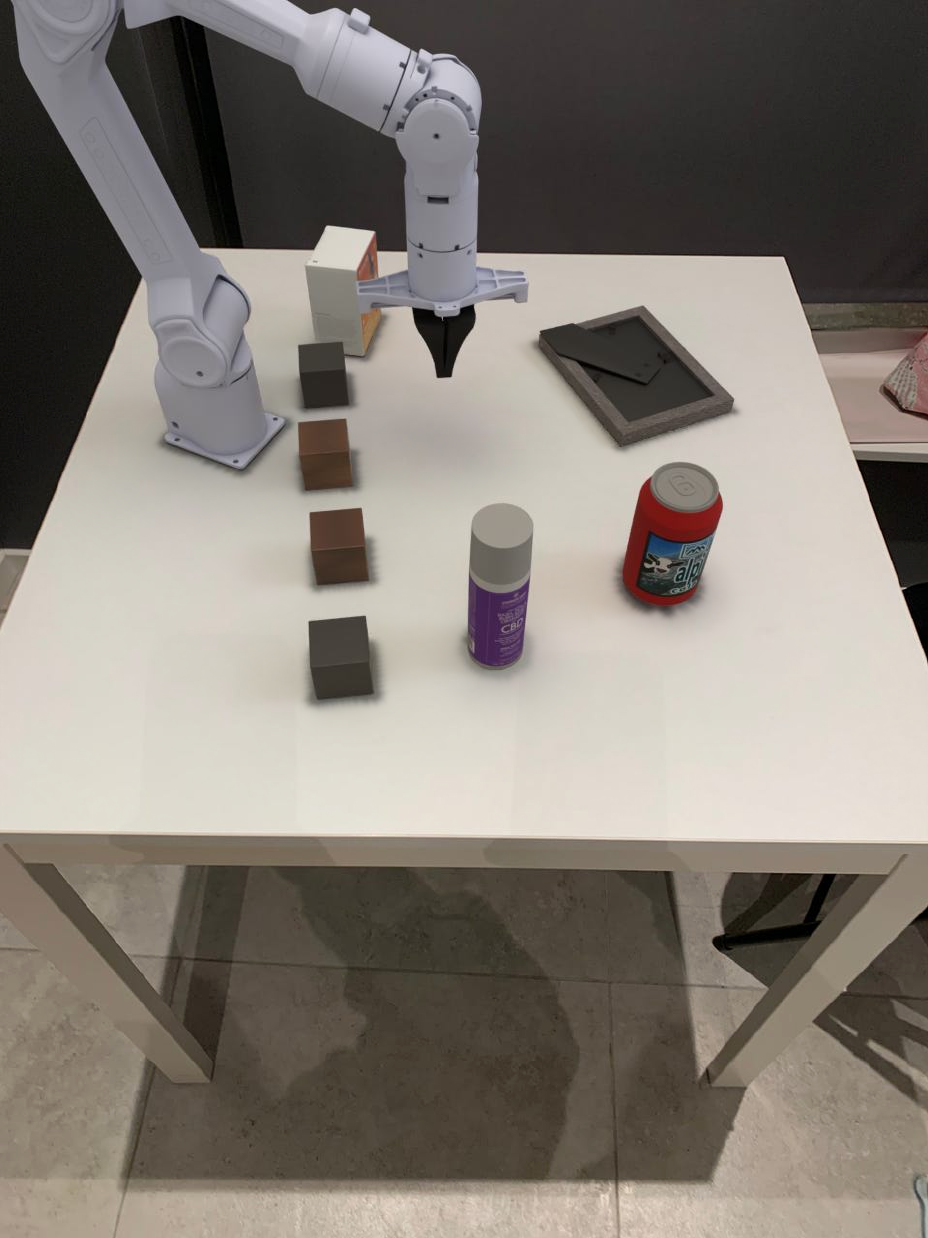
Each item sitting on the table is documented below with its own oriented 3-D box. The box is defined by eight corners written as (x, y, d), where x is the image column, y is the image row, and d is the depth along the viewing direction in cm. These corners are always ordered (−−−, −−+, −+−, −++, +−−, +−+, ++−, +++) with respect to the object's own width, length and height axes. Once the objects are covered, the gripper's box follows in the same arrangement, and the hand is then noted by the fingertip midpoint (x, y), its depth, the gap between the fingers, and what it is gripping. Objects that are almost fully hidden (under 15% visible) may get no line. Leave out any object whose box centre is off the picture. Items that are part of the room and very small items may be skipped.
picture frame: (538, 345, 104) (620, 446, 94) (539, 330, 102) (623, 431, 92) (640, 316, 107) (731, 411, 97) (643, 301, 105) (735, 395, 96)
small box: (364, 358, 102) (356, 271, 94) (315, 351, 103) (303, 264, 94) (382, 315, 107) (377, 229, 98) (335, 309, 107) (326, 223, 99)
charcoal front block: (316, 700, 75) (309, 667, 71) (314, 653, 78) (308, 620, 74) (373, 694, 76) (369, 661, 72) (369, 648, 78) (365, 614, 75)
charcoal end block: (304, 408, 97) (299, 372, 93) (303, 380, 100) (298, 344, 96) (349, 405, 97) (345, 368, 94) (346, 377, 100) (342, 340, 96)
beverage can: (648, 622, 80) (674, 527, 71) (605, 569, 84) (625, 471, 74) (712, 594, 82) (746, 498, 73) (667, 543, 86) (694, 445, 76)
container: (504, 679, 77) (514, 559, 65) (456, 654, 78) (457, 532, 66) (532, 640, 79) (547, 517, 67) (485, 616, 80) (491, 492, 68)
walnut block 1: (305, 490, 90) (299, 454, 86) (304, 457, 92) (297, 421, 89) (353, 486, 90) (348, 450, 86) (350, 454, 93) (346, 418, 89)
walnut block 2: (317, 585, 82) (310, 550, 79) (315, 546, 85) (309, 511, 82) (369, 580, 83) (365, 546, 79) (365, 542, 86) (361, 507, 82)
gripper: (354, 266, 72) (367, 405, 83) (539, 254, 73) (528, 392, 84) (349, 218, 76) (362, 356, 87) (524, 207, 78) (515, 344, 88)
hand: (443, 371), depth 86 cm, fingers closed
